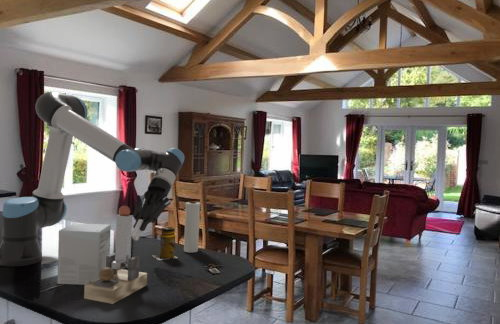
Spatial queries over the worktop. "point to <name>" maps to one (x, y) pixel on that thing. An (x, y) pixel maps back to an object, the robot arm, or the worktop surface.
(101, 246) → the supplement box
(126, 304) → the worktop surface
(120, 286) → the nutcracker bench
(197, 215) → the paper towel roll
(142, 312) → the worktop surface
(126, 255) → the lever
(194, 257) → the worktop surface
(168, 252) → the condiment
